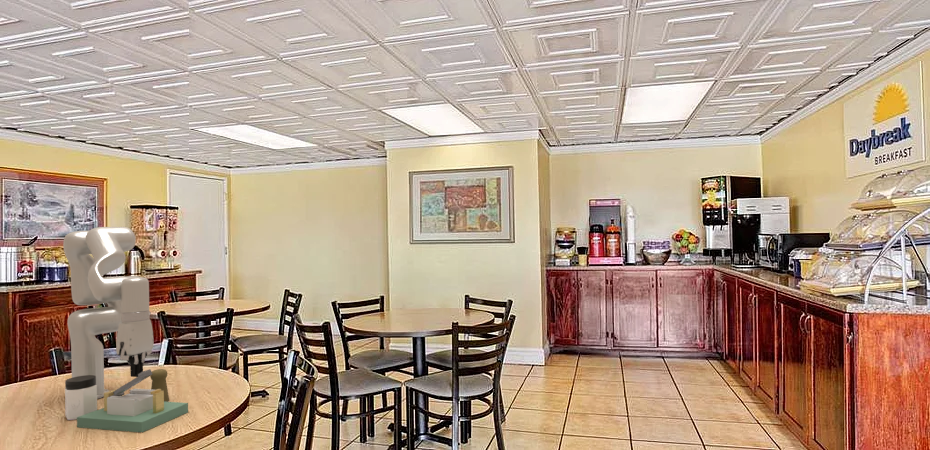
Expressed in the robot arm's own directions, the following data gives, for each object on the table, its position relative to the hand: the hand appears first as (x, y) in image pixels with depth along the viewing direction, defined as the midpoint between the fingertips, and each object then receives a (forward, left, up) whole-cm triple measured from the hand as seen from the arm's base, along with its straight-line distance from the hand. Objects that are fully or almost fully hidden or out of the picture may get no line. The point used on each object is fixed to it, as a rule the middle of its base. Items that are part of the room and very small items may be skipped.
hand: (136, 376), depth 169 cm
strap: (-1, 0, -3) cm, 3 cm away
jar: (-22, 0, -14) cm, 26 cm away
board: (-1, 0, -14) cm, 14 cm away
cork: (-8, +17, -14) cm, 23 cm away
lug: (+8, 0, -11) cm, 13 cm away
